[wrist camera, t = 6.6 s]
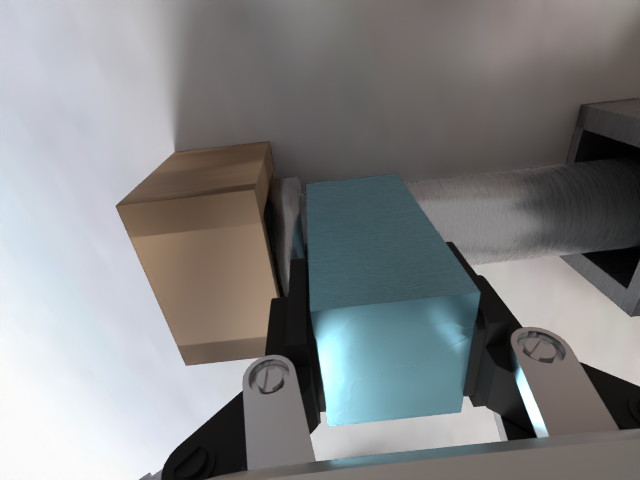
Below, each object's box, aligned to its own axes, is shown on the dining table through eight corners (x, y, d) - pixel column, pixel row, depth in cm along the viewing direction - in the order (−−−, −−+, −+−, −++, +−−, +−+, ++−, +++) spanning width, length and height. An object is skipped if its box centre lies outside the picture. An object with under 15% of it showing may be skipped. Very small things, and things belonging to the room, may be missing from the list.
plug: (603, 124, 17) (946, 223, 8) (572, 227, 19) (798, 386, 11) (205, 170, 17) (99, 318, 8) (231, 265, 20) (175, 452, 11)
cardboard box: (269, 141, 16) (254, 189, 11) (292, 272, 20) (289, 354, 15) (174, 152, 16) (115, 206, 11) (215, 281, 20) (185, 365, 15)
